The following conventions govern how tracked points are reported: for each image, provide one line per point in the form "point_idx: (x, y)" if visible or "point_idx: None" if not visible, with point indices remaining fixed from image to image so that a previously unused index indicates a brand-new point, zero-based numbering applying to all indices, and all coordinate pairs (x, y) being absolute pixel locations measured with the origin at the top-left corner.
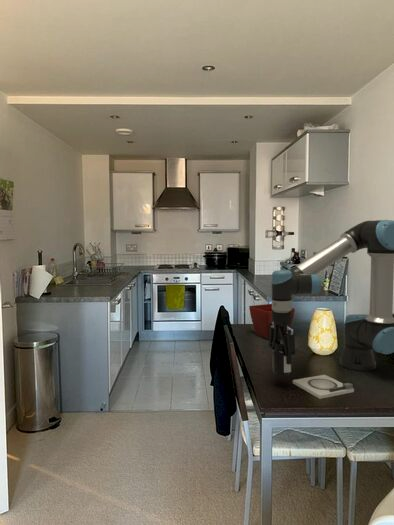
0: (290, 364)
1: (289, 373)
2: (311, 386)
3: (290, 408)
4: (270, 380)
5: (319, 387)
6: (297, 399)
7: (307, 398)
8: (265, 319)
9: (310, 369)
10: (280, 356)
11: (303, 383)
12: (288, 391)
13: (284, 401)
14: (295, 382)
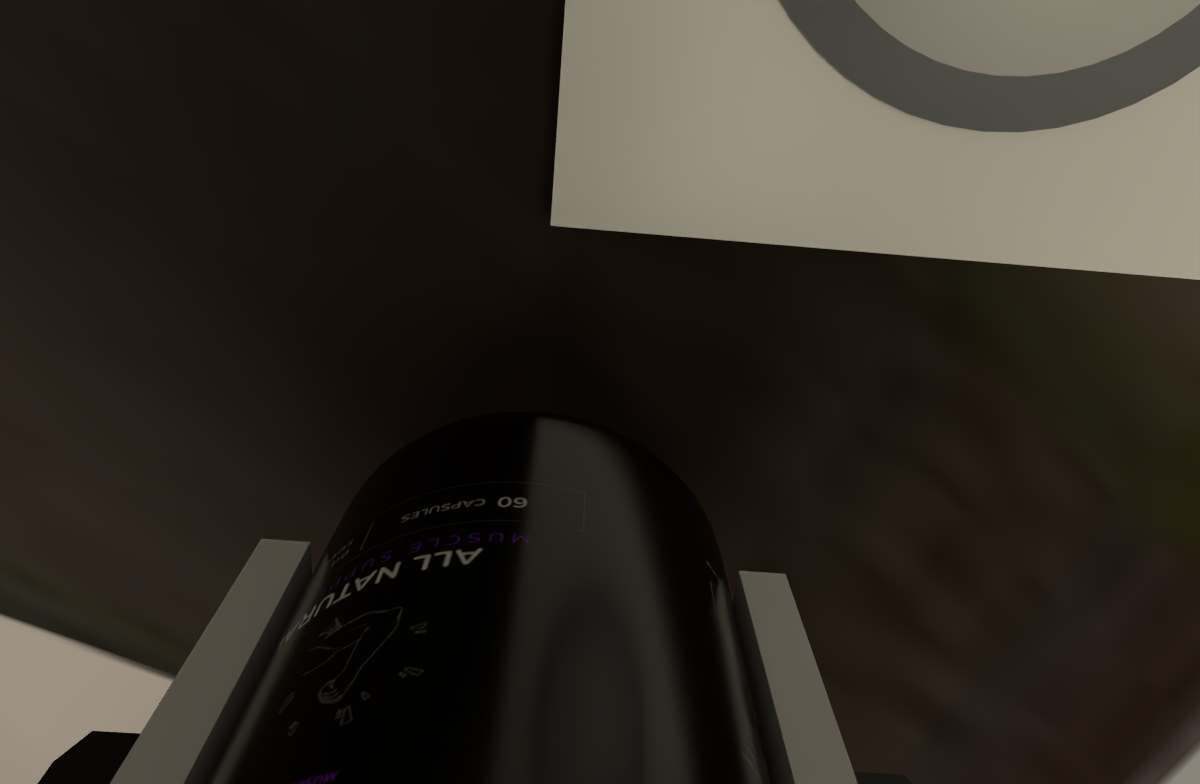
0: (829, 716)
1: (706, 519)
2: (993, 131)
3: (1161, 778)
4: (287, 468)
5: (1139, 29)
6: (1057, 565)
7: (1133, 426)
8: None
9: None
10: None
11: (788, 153)
12: (786, 500)
13: (988, 729)
14: (642, 231)
